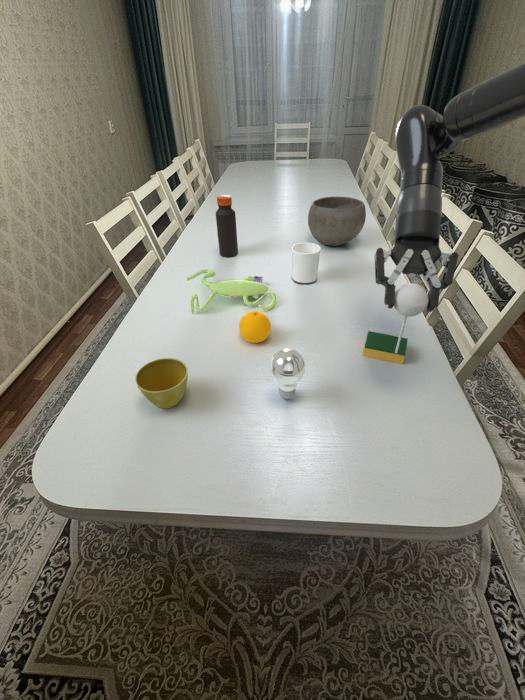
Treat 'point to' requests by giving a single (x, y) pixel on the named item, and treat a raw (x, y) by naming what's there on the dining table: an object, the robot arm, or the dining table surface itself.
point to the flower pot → (163, 381)
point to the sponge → (385, 347)
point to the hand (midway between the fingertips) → (410, 308)
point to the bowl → (336, 219)
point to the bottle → (226, 227)
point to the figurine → (233, 289)
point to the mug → (305, 262)
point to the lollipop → (409, 303)
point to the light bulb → (287, 371)
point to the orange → (255, 326)
